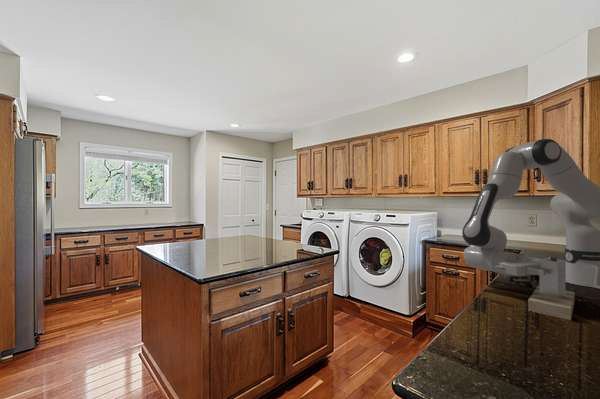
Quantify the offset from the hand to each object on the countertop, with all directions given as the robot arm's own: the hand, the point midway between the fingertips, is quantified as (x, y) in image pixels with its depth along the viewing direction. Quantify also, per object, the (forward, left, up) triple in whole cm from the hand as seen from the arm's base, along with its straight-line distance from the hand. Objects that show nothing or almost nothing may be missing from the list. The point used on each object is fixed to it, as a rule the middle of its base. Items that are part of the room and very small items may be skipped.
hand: (552, 271), depth 97 cm
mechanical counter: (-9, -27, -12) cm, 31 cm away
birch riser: (0, 0, -11) cm, 12 cm away
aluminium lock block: (0, 0, -8) cm, 8 cm away
